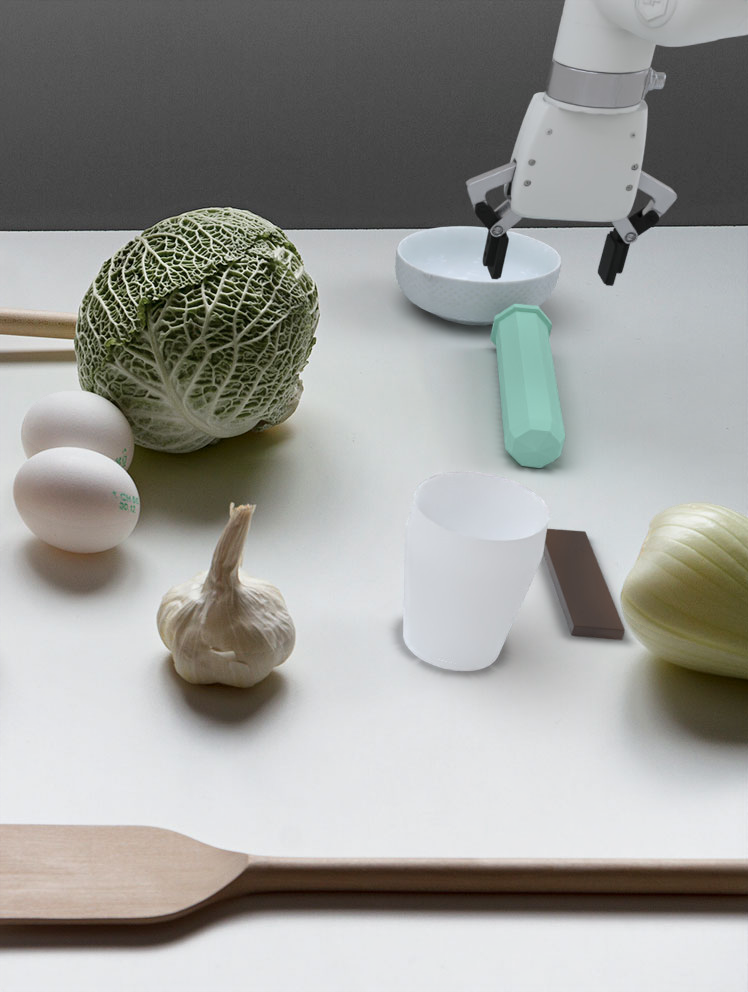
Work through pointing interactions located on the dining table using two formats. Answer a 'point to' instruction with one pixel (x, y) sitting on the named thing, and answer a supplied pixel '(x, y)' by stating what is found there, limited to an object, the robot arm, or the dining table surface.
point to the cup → (468, 566)
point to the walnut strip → (581, 585)
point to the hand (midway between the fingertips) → (548, 276)
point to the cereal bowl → (473, 273)
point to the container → (528, 386)
